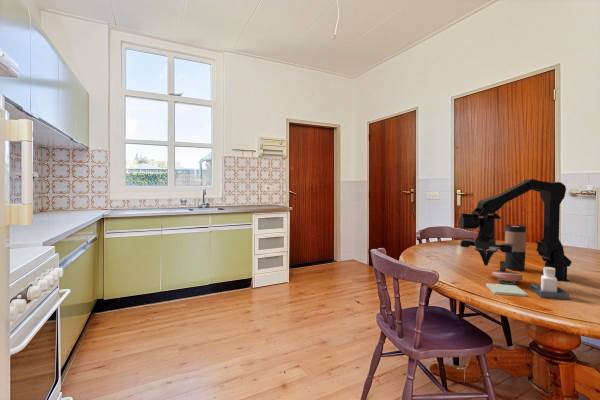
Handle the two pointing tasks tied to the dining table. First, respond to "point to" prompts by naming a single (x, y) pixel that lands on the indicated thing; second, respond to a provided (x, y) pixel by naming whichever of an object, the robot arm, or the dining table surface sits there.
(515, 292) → the board
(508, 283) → the wheel post
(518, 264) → the travel mug
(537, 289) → the dark grey square frame
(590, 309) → the dining table surface
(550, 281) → the pepper shaker
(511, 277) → the handwheel
